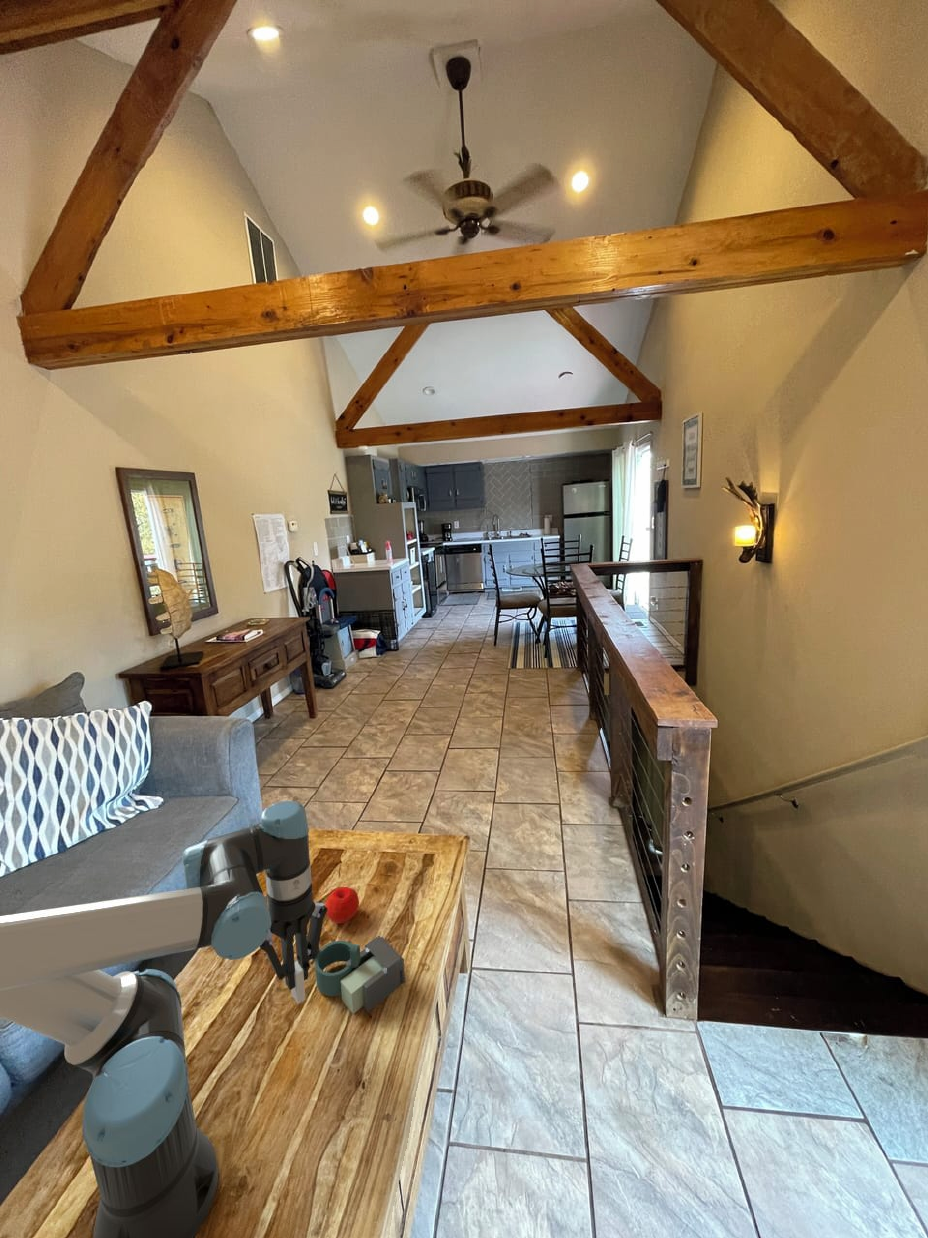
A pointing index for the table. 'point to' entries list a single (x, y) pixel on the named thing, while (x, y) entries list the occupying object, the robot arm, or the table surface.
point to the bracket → (331, 954)
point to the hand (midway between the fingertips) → (298, 996)
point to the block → (358, 984)
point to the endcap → (381, 972)
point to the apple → (342, 904)
